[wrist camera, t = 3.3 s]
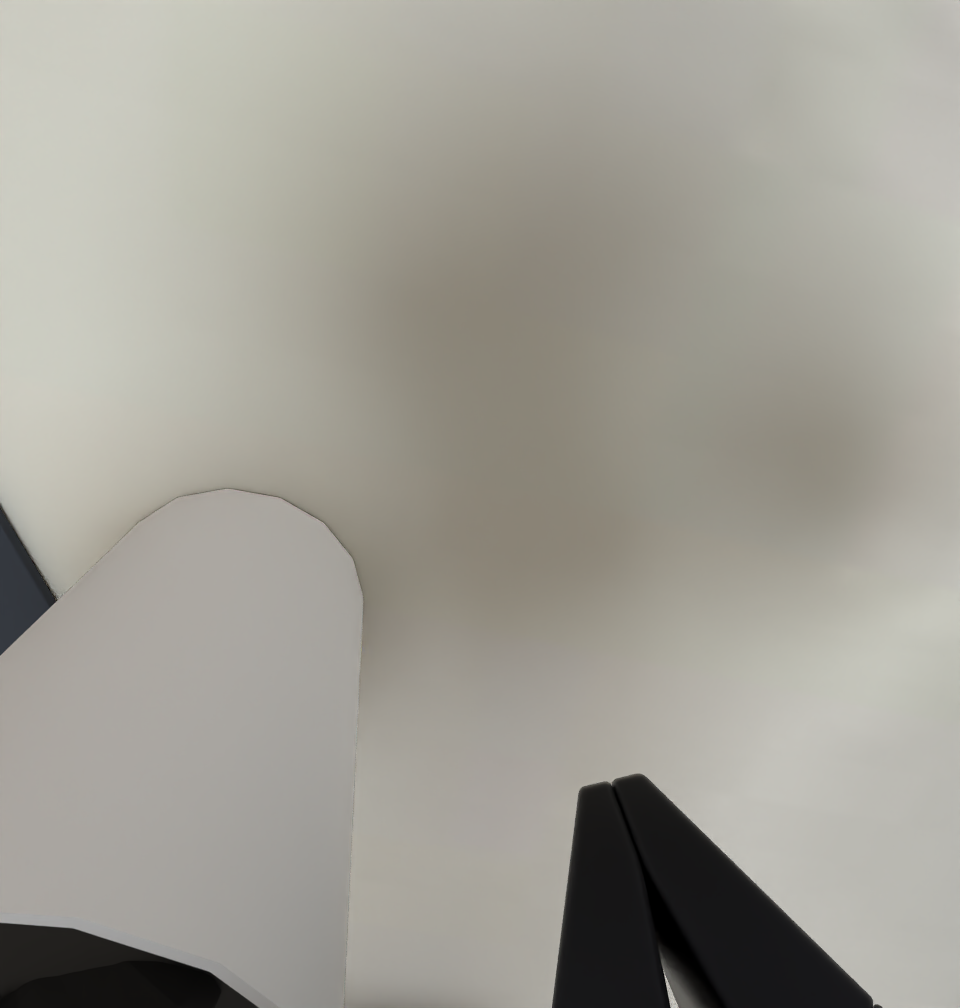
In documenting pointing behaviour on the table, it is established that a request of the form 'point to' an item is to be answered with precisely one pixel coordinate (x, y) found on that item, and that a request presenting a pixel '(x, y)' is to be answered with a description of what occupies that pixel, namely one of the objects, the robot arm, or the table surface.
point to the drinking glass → (185, 768)
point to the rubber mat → (18, 588)
